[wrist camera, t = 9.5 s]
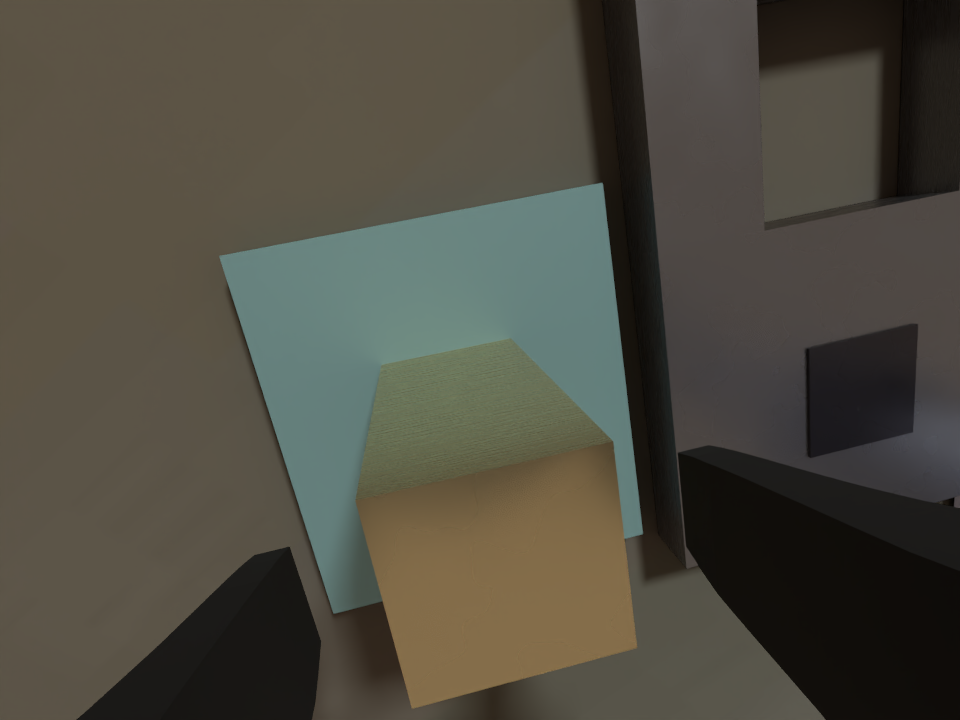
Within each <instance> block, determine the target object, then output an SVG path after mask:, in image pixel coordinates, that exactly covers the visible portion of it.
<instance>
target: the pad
mask: <svg viewBox="0 0 960 720" xmlns="http://www.w3.org/2000/svg"><path fill="white" fill-rule="evenodd" d="M219 257H220V260H221V263H222V266H223V270H224V273H225V276H226V279H227V282H228V285H229V288H230V291H231V295H232V298H233V301H234V304H235V307H236V310H237V313H238V316H239V320H240V323H241V326H242V329H243V332H244V335H245V338H246V342H247V345H248V348H249V351H250V354H251V357H252V360H253V363H254V367H255V370H256V373H257V376H258V379H259V382H260V385H261V388H262V392H263V395H264V398H265V401H266V404H267V407H268V410H269V413H270V417H271V420H272V423H273V426H274V429H275V432H276V435H277V438H278V442H279V445H280V448H281V451H282V454H283V457H284V460H285V464H286V467H287V470H288V473H289V476H290V479H291V482H292V485H293V489H294V492H295V495H296V498H297V501H298V504H299V507H300V510H301V514H302V517H303V520H304V523H305V526H306V529H307V532H308V535H309V539H310V542H311V545H312V548H313V551H314V554H315V557H316V560H317V564H318V567H319V570H320V573H321V576H322V579H323V582H324V586H325V589H326V592H327V595H328V598H329V601H330V604H331V607H332V611H333V614H335V613H339V612H343V611H347V610H351V609H355V608H359V607H363V606H366V605H370V604H374V603H378V602H382V601H383V600H382V597H381V593H380V589H379V586H378V582H377V578H376V575H375V571H374V567H373V564H372V560H371V556H370V553H369V549H368V546H367V542H366V538H365V535H364V531H363V527H362V524H361V520H360V516H359V513H358V509H357V505H356V502H355V499H356V494H357V489H358V484H359V478H360V473H361V468H362V463H363V458H364V452H365V447H366V442H367V437H368V432H369V426H370V421H371V416H372V411H373V406H374V401H375V395H376V390H377V385H378V380H379V375H380V369H381V365H383V364H388V363H393V362H398V361H403V360H408V359H412V358H417V357H422V356H427V355H432V354H437V353H441V352H446V351H451V350H456V349H461V348H466V347H470V346H475V345H480V344H485V343H490V342H495V341H500V340H504V339H509V338H511V339H512V340H513V341H514V342H515V343H516V344H517V345H518V346H519V347H520V348H521V349H522V350H523V351H524V352H525V353H526V354H527V355H528V356H529V357H530V358H531V359H532V360H533V361H534V362H535V363H536V364H537V365H538V366H539V367H540V368H541V369H542V370H543V371H544V372H545V373H546V374H547V375H548V376H549V377H550V378H551V379H552V380H553V381H554V382H555V383H556V384H557V385H558V386H559V387H560V388H561V389H562V390H563V391H564V392H565V393H566V394H567V395H568V396H569V397H570V398H571V399H572V400H573V401H574V402H575V403H576V404H577V405H578V406H579V407H580V408H581V409H582V410H583V411H584V412H585V413H586V414H587V415H588V416H589V417H590V418H591V419H592V420H593V421H594V422H595V423H596V424H597V425H598V426H599V427H600V428H601V429H602V430H603V431H604V432H605V433H606V434H607V435H608V436H609V437H610V438H611V439H612V440H613V443H614V452H615V461H616V469H617V478H618V487H619V495H620V504H621V513H622V521H623V530H624V539H626V538H630V537H634V536H638V535H642V534H643V529H642V521H641V512H640V503H639V494H638V486H637V477H636V468H635V460H634V451H633V442H632V433H631V425H630V416H629V407H628V399H627V390H626V381H625V372H624V364H623V355H622V346H621V338H620V329H619V320H618V311H617V303H616V294H615V285H614V277H613V268H612V259H611V251H610V242H609V233H608V224H607V216H606V207H605V198H604V190H603V183H598V184H593V185H588V186H583V187H577V188H572V189H567V190H562V191H556V192H551V193H546V194H541V195H536V196H530V197H525V198H520V199H515V200H509V201H504V202H499V203H494V204H489V205H483V206H478V207H473V208H468V209H462V210H457V211H452V212H447V213H442V214H436V215H431V216H426V217H421V218H415V219H410V220H405V221H400V222H395V223H389V224H384V225H379V226H374V227H368V228H363V229H358V230H353V231H348V232H342V233H337V234H332V235H327V236H321V237H316V238H311V239H306V240H301V241H295V242H290V243H285V244H280V245H274V246H269V247H264V248H259V249H254V250H248V251H243V252H238V253H233V254H227V255H222V256H219Z"/></svg>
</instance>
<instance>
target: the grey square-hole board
mask: <svg viewBox="0 0 960 720" xmlns="http://www.w3.org/2000/svg"><path fill="white" fill-rule="evenodd" d="M778 1H784V0H602V3H603V12H604V22H605V31H606V41H607V50H608V60H609V69H610V78H611V88H612V97H613V107H614V116H615V126H616V135H617V145H618V154H619V164H620V173H621V183H622V192H623V202H624V211H625V221H626V230H627V240H628V249H629V259H630V268H631V278H632V287H633V297H634V306H635V316H636V325H637V335H638V344H639V354H640V363H641V373H642V382H643V392H644V401H645V411H646V420H647V430H648V439H649V449H650V458H651V468H652V477H653V487H654V496H655V506H656V515H657V525H658V534H659V536H660V537H661V539H662V540H663V541H664V542H665V543H666V545H667V546H668V547H669V548H670V549H671V551H672V552H673V553H674V554H675V555H676V557H677V558H678V559H679V560H680V561H681V563H682V564H683V565H684V566H685V567H686V569H687V568H691V567H695V566H698V564H697V563H696V561H695V559H694V558H693V556H692V555H691V553H690V552H689V550H688V549H687V547H686V540H685V529H684V518H683V507H682V496H681V485H680V473H679V462H678V452H682V451H686V450H690V449H694V448H699V447H703V446H707V445H711V446H716V447H721V448H726V449H730V450H734V451H738V452H742V453H746V454H749V455H753V456H756V457H760V458H764V459H767V460H771V461H774V462H778V463H781V464H785V465H788V466H791V467H795V468H798V469H802V470H806V471H809V472H813V473H816V474H820V475H823V476H827V477H831V478H834V479H838V480H842V481H846V482H849V483H853V484H857V485H861V486H865V487H869V488H873V489H877V490H881V491H885V492H889V493H894V494H898V495H902V496H906V497H910V498H914V499H919V500H923V501H928V502H933V503H935V502H939V501H943V500H946V499H950V498H954V497H958V496H960V0H904V24H903V54H902V83H901V113H900V142H899V172H898V195H897V196H892V197H887V198H883V199H878V200H873V201H868V202H863V203H858V204H853V205H848V206H843V207H839V208H834V209H829V210H824V211H819V212H814V213H809V214H804V215H800V216H795V217H790V218H785V219H780V220H775V221H770V222H765V223H764V200H763V171H762V142H761V112H760V83H759V54H758V24H757V5H759V4H765V3H771V2H778Z"/></svg>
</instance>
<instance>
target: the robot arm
mask: <svg viewBox="0 0 960 720" xmlns="http://www.w3.org/2000/svg"><path fill="white" fill-rule="evenodd" d="M678 462H679V473H680V485H681V496H682V507H683V518H684V529H685V540H686V547H687V549H688V550H689V552H690V553H691V555H692V556H693V558H694V559H695V561H696V563H697V564H698V566H699V567H700V569H701V570H702V572H703V573H704V575H705V576H706V578H707V579H708V581H709V582H710V583H711V585H712V586H713V588H714V589H715V591H716V592H717V594H718V595H719V596H720V597H721V598H722V600H723V601H724V602H725V603H726V604H727V606H728V607H729V608H730V609H731V610H732V611H733V613H734V614H735V615H736V616H737V617H738V618H739V620H740V621H741V622H742V623H743V624H744V625H745V627H746V628H747V629H748V630H749V631H750V632H751V634H752V635H753V636H754V637H755V638H756V639H757V641H758V642H759V643H760V644H761V645H762V646H763V647H764V649H765V650H766V651H767V652H768V653H769V654H770V655H771V657H772V658H773V659H774V660H775V661H776V662H777V664H778V665H779V666H780V667H781V668H782V669H783V670H784V672H785V673H786V674H787V675H788V676H789V677H790V678H791V680H792V681H793V682H794V683H795V684H796V685H797V687H798V688H799V689H800V690H801V691H802V692H803V693H804V695H805V696H806V697H807V698H808V699H809V700H810V701H811V703H812V704H813V705H814V706H815V707H816V708H817V710H818V711H819V712H820V713H821V714H822V716H823V717H824V718H825V719H826V720H960V496H958V497H955V498H954V507H952V506H947V505H942V504H937V503H933V502H928V501H923V500H919V499H914V498H910V497H906V496H902V495H898V494H894V493H889V492H885V491H881V490H877V489H873V488H869V487H865V486H861V485H857V484H853V483H849V482H846V481H842V480H838V479H834V478H831V477H827V476H823V475H820V474H816V473H813V472H809V471H806V470H802V469H798V468H795V467H791V466H788V465H785V464H781V463H778V462H774V461H771V460H767V459H764V458H760V457H756V456H753V455H749V454H746V453H742V452H738V451H734V450H730V449H726V448H721V447H716V446H711V445H707V446H703V447H699V448H694V449H690V450H686V451H682V452H678ZM320 647H321V640H320V637H319V634H318V631H317V628H316V625H315V622H314V619H313V616H312V613H311V610H310V607H309V604H308V601H307V598H306V595H305V592H304V589H303V586H302V583H301V580H300V577H299V574H298V571H297V568H296V565H295V562H294V559H293V556H292V553H291V550H290V547H286V548H282V549H278V550H274V551H270V552H266V553H262V554H257V555H254V556H253V557H252V558H250V559H249V560H248V561H247V562H245V563H244V564H243V565H242V566H241V567H240V568H239V569H238V570H237V571H235V572H234V573H233V574H232V575H231V576H230V577H229V578H228V579H227V580H226V581H225V582H224V583H223V584H222V585H221V586H220V587H219V588H218V589H217V590H215V591H214V592H213V593H212V594H211V595H210V596H209V597H208V598H207V599H206V600H205V601H204V602H203V603H202V604H201V605H200V606H199V607H198V608H197V609H196V610H195V611H194V612H193V613H192V614H191V615H190V616H189V617H188V618H187V619H186V620H185V621H184V622H182V623H181V624H180V625H179V626H178V627H177V628H176V629H175V630H174V631H173V632H172V633H171V634H170V635H169V636H168V637H167V638H166V639H165V640H164V641H163V642H162V643H161V644H160V645H159V646H158V647H156V648H155V649H154V650H153V651H152V652H151V653H150V654H149V655H148V656H147V657H146V658H144V659H143V660H142V661H141V662H140V663H139V664H138V665H137V666H136V667H135V668H133V669H132V670H131V671H130V672H129V673H128V674H127V675H126V676H125V677H124V678H122V679H121V680H120V681H119V682H118V683H117V684H116V685H115V686H114V687H113V688H111V689H110V690H109V691H108V692H107V693H106V694H105V695H104V696H103V697H102V698H100V699H99V700H98V701H97V702H96V703H95V704H94V705H93V706H92V707H91V708H89V709H88V710H87V711H86V712H85V713H84V714H83V715H81V716H80V717H79V718H78V719H77V720H312V715H313V710H314V706H315V699H316V690H317V681H318V671H319V659H320Z"/></svg>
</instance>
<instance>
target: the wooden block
mask: <svg viewBox="0 0 960 720" xmlns="http://www.w3.org/2000/svg"><path fill="white" fill-rule="evenodd" d="M355 502H356V505H357V509H358V513H359V516H360V520H361V524H362V527H363V531H364V535H365V538H366V542H367V546H368V549H369V553H370V556H371V560H372V564H373V567H374V571H375V575H376V578H377V582H378V586H379V589H380V593H381V597H382V600H383V604H384V608H385V611H386V615H387V619H388V622H389V626H390V630H391V633H392V637H393V641H394V644H395V648H396V652H397V655H398V659H399V663H400V666H401V670H402V674H403V677H404V681H405V685H406V688H407V692H408V696H409V699H410V703H411V707H412V709H413V708H417V707H420V706H424V705H428V704H431V703H435V702H439V701H443V700H446V699H450V698H454V697H457V696H461V695H465V694H468V693H472V692H476V691H480V690H483V689H487V688H491V687H494V686H498V685H502V684H505V683H509V682H513V681H517V680H520V679H524V678H528V677H531V676H535V675H539V674H543V673H546V672H550V671H554V670H557V669H561V668H565V667H568V666H572V665H576V664H580V663H583V662H587V661H591V660H594V659H598V658H602V657H605V656H609V655H613V654H617V653H620V652H624V651H628V650H631V649H635V648H637V643H636V634H635V625H634V617H633V608H632V599H631V591H630V582H629V573H628V565H627V556H626V547H625V539H624V530H623V521H622V513H621V504H620V495H619V487H618V478H617V469H616V461H615V452H614V443H613V440H612V439H611V438H610V437H609V436H608V435H607V434H606V433H605V432H604V431H603V430H602V429H601V428H600V427H599V426H598V425H597V424H596V423H595V422H594V421H593V420H592V419H591V418H590V417H589V416H588V415H587V414H586V413H585V412H584V411H583V410H582V409H581V408H580V407H579V406H578V405H577V404H576V403H575V402H574V401H573V400H572V399H571V398H570V397H569V396H568V395H567V394H566V393H565V392H564V391H563V390H562V389H561V388H560V387H559V386H558V385H557V384H556V383H555V382H554V381H553V380H552V379H551V378H550V377H549V376H548V375H547V374H546V373H545V372H544V371H543V370H542V369H541V368H540V367H539V366H538V365H537V364H536V363H535V362H534V361H533V360H532V359H531V358H530V357H529V356H528V355H527V354H526V353H525V352H524V351H523V350H522V349H521V348H520V347H519V346H518V345H517V344H516V343H515V342H514V341H513V340H512V339H511V338H509V339H504V340H500V341H495V342H490V343H485V344H480V345H475V346H470V347H466V348H461V349H456V350H451V351H446V352H441V353H437V354H432V355H427V356H422V357H417V358H412V359H408V360H403V361H398V362H393V363H388V364H383V365H381V369H380V375H379V380H378V385H377V390H376V395H375V401H374V406H373V411H372V416H371V421H370V426H369V432H368V437H367V442H366V447H365V452H364V458H363V463H362V468H361V473H360V478H359V484H358V489H357V494H356V499H355Z"/></svg>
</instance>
